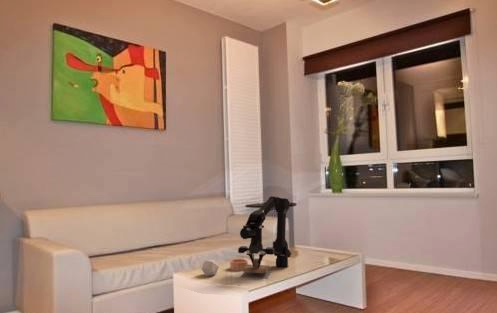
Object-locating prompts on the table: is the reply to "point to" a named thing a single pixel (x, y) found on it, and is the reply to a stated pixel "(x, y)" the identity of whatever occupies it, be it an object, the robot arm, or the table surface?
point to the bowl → (238, 264)
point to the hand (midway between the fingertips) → (256, 266)
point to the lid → (256, 267)
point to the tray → (256, 275)
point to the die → (210, 267)
